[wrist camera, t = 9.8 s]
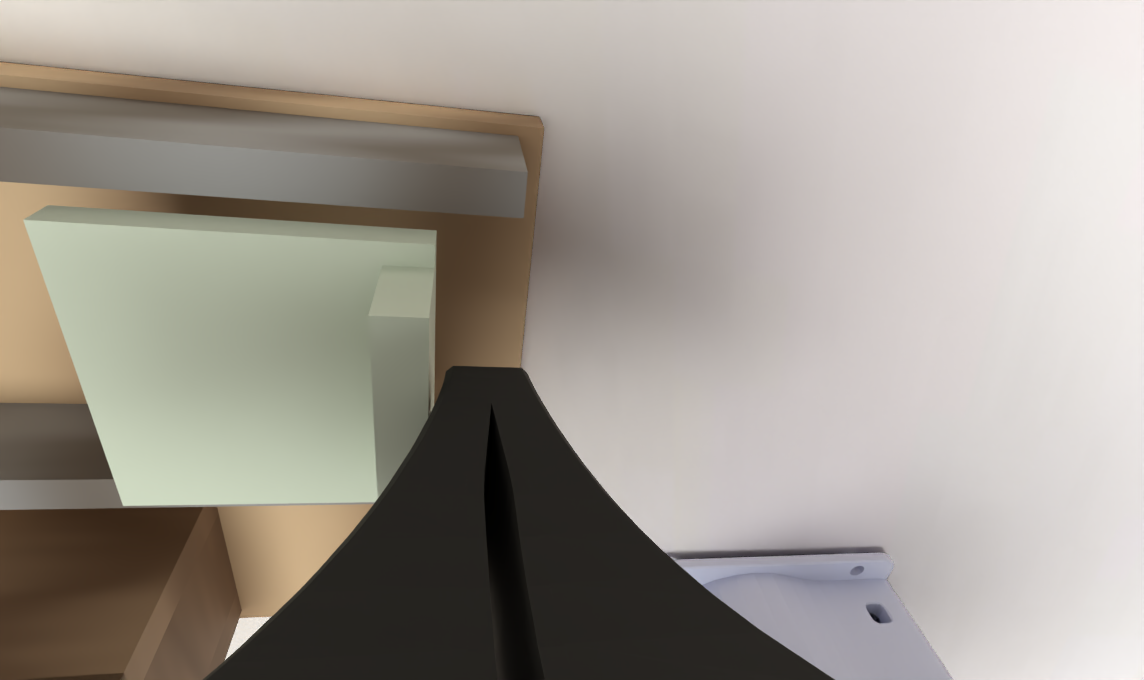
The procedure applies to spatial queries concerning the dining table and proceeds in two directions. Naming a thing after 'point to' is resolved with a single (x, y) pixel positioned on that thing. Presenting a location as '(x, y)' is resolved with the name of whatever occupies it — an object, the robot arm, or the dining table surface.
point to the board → (246, 190)
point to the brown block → (114, 594)
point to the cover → (244, 350)
